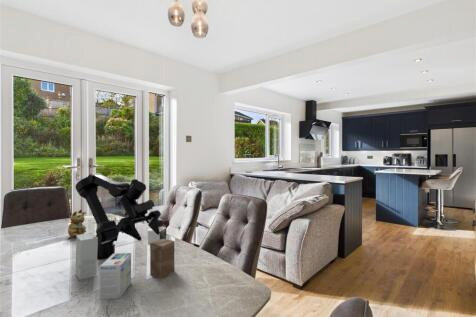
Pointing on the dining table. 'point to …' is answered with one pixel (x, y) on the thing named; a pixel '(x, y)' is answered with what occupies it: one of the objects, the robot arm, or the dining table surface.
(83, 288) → the dining table surface
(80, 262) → the skincare box
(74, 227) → the decorative figurine
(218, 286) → the dining table surface
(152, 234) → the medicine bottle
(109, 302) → the dining table surface
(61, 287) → the dining table surface
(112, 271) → the light bulb box
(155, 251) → the brown rectangular block
